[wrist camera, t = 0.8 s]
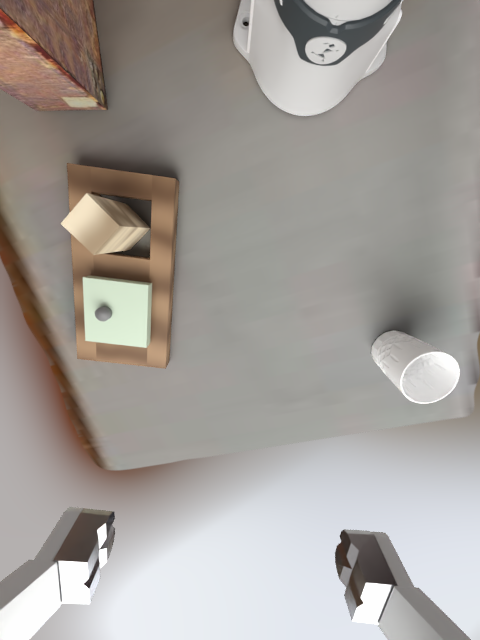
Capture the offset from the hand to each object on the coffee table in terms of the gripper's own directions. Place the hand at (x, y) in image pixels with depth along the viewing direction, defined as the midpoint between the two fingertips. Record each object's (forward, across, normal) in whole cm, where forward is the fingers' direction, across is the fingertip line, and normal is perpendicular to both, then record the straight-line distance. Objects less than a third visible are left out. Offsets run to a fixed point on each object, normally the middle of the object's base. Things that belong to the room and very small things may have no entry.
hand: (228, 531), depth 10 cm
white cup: (+36, -27, +5) cm, 45 cm away
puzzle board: (+36, +17, -3) cm, 39 cm away
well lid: (+33, +17, +2) cm, 37 cm away
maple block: (+35, +17, -10) cm, 40 cm away
